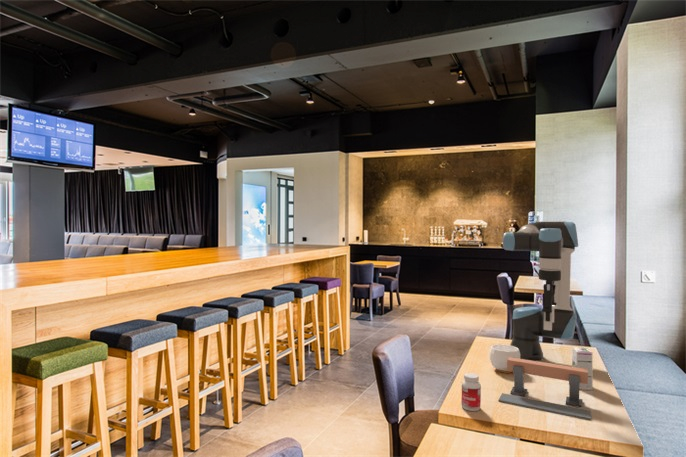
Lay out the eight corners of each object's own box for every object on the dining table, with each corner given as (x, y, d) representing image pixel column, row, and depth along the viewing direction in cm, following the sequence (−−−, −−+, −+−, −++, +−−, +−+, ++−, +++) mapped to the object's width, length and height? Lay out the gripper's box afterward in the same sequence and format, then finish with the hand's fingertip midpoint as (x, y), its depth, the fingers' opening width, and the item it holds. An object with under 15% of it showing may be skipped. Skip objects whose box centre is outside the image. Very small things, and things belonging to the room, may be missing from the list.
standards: (513, 388, 164) (513, 360, 164) (582, 401, 152) (583, 371, 152) (510, 394, 158) (510, 365, 158) (582, 408, 146) (582, 377, 146)
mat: (502, 394, 157) (502, 393, 157) (590, 412, 143) (590, 410, 143) (498, 401, 151) (498, 399, 151) (590, 420, 137) (590, 418, 137)
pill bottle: (458, 408, 145) (458, 375, 145) (466, 402, 150) (466, 370, 150) (476, 413, 141) (476, 379, 141) (483, 407, 146) (483, 375, 146)
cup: (488, 373, 181) (488, 350, 181) (490, 364, 192) (490, 342, 192) (520, 377, 176) (520, 353, 176) (520, 368, 188) (520, 345, 187)
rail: (508, 367, 163) (508, 357, 163) (587, 380, 150) (587, 369, 150) (507, 370, 160) (507, 359, 160) (587, 384, 147) (587, 372, 147)
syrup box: (593, 390, 163) (593, 351, 163) (576, 389, 164) (576, 350, 164) (587, 384, 168) (588, 347, 168) (571, 383, 169) (571, 346, 169)
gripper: (541, 265, 174) (540, 318, 175) (535, 272, 153) (534, 332, 153) (562, 266, 171) (561, 320, 171) (559, 273, 149) (558, 334, 149)
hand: (549, 325), depth 162 cm, fingers open, 13 cm apart
